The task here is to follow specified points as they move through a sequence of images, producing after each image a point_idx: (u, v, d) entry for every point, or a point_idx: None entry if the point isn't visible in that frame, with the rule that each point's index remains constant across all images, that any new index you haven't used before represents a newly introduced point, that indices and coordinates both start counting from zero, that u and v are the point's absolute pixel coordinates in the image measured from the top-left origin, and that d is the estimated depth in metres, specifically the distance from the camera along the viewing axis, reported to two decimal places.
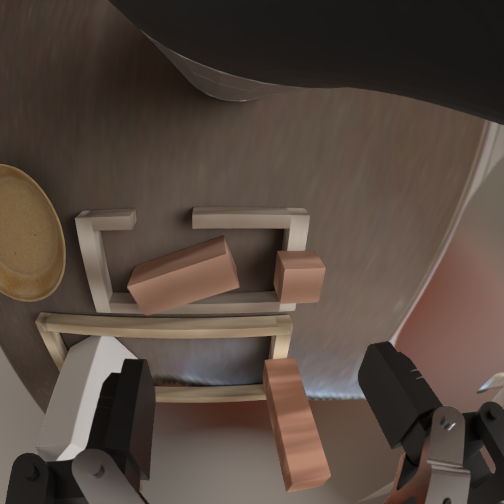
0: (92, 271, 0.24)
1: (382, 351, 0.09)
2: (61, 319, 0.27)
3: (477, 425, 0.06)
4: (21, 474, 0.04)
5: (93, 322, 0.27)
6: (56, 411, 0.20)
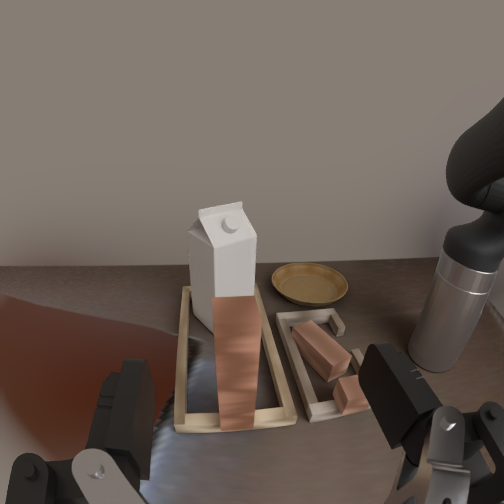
0: (306, 313, 0.47)
1: (382, 351, 0.09)
2: None
3: (477, 425, 0.06)
4: (21, 474, 0.04)
5: None
6: None
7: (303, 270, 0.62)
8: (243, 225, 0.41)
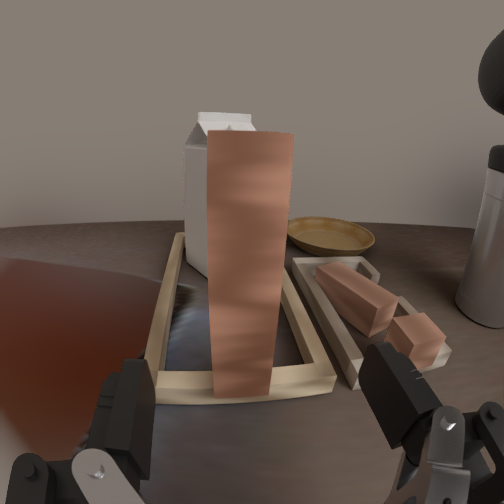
0: (329, 259, 0.37)
1: (382, 351, 0.09)
2: None
3: (478, 425, 0.06)
4: (21, 474, 0.04)
5: None
6: None
7: (320, 226, 0.52)
8: None
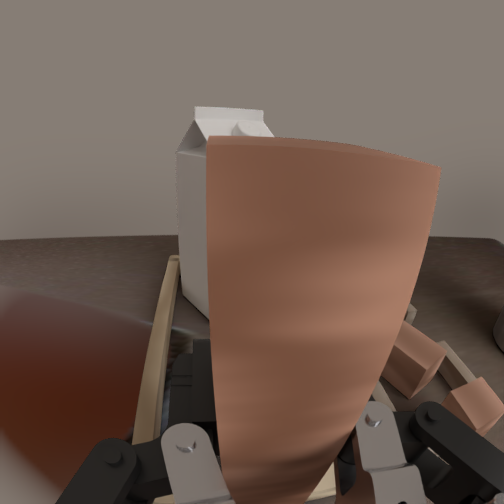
0: None
1: None
2: None
3: (417, 430, 0.06)
4: (102, 458, 0.05)
5: None
6: None
7: None
8: None
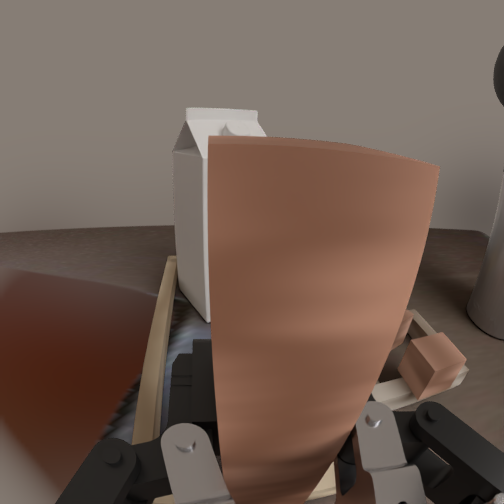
0: None
1: None
2: None
3: (417, 430, 0.06)
4: (102, 458, 0.05)
5: None
6: None
7: None
8: None
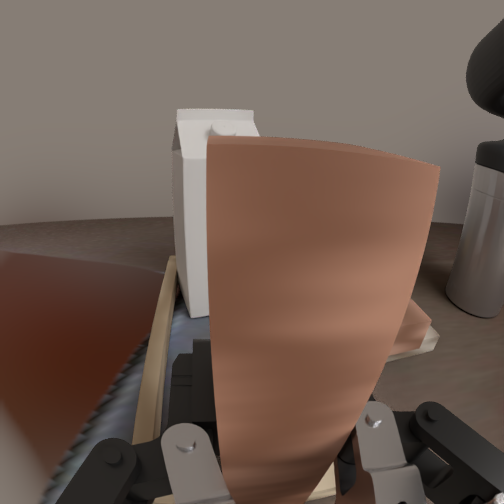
0: None
1: None
2: None
3: (417, 430, 0.06)
4: (102, 458, 0.05)
5: None
6: None
7: None
8: None
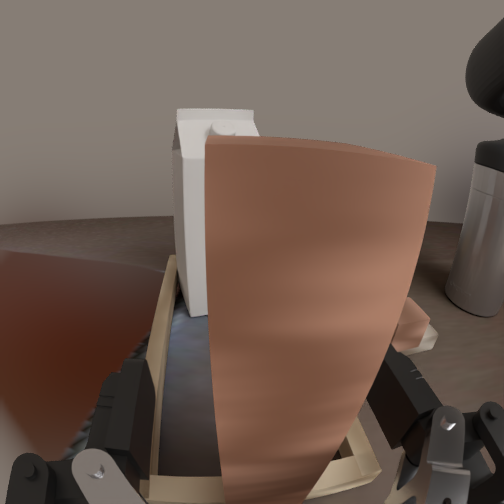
0: None
1: None
2: None
3: (478, 425, 0.06)
4: (21, 474, 0.04)
5: None
6: None
7: None
8: None
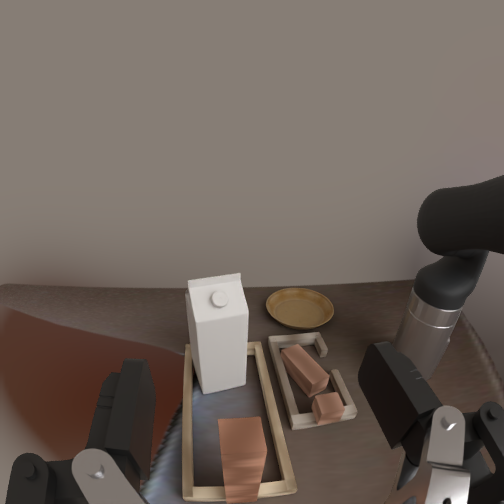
0: (294, 336, 0.53)
1: (382, 351, 0.09)
2: None
3: (477, 425, 0.06)
4: (21, 474, 0.04)
5: None
6: None
7: (295, 295, 0.69)
8: (235, 299, 0.39)
